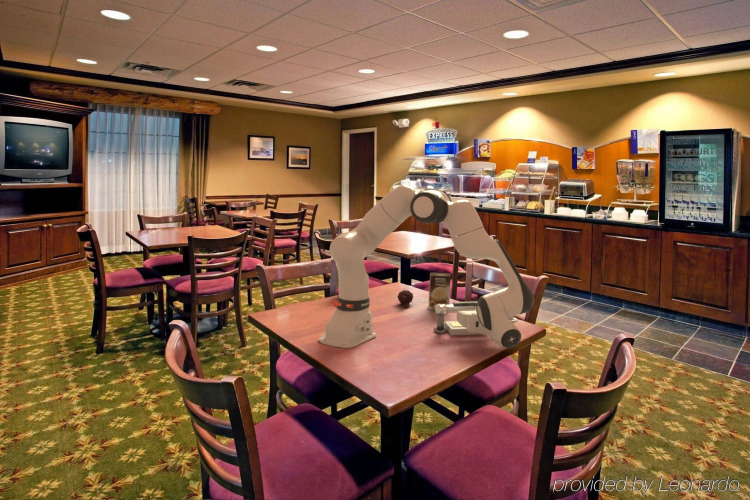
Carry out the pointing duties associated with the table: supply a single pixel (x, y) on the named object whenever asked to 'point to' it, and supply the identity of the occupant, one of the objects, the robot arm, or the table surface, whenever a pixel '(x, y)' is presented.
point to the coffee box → (439, 289)
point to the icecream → (405, 297)
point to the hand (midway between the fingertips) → (477, 310)
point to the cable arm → (455, 307)
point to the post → (440, 324)
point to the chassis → (456, 328)
